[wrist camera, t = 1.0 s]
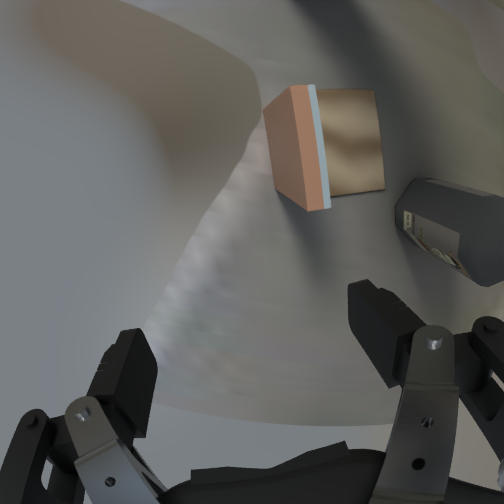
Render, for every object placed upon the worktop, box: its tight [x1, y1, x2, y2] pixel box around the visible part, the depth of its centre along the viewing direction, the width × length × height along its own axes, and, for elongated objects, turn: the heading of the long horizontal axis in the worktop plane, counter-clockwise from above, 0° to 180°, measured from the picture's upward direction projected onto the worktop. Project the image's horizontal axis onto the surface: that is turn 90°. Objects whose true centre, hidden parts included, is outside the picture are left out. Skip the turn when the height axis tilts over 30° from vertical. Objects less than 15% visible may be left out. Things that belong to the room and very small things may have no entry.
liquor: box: [395, 178, 504, 287], centre depth 25 cm, size 9×9×30 cm
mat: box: [316, 89, 385, 196], centre depth 34 cm, size 14×12×1 cm
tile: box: [263, 85, 331, 211], centre depth 28 cm, size 10×2×14 cm, turn 9°
